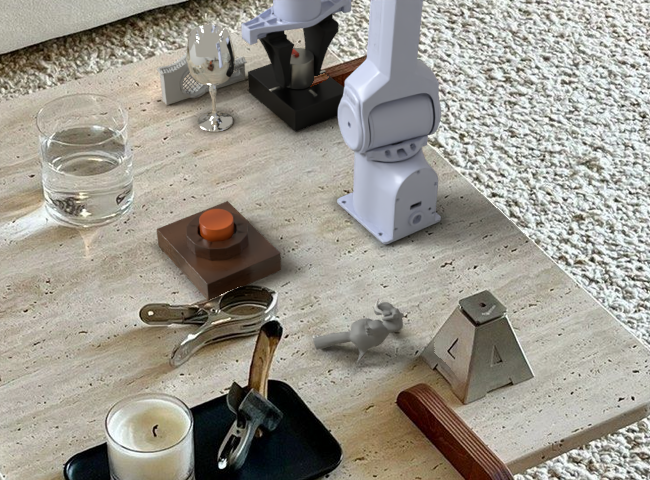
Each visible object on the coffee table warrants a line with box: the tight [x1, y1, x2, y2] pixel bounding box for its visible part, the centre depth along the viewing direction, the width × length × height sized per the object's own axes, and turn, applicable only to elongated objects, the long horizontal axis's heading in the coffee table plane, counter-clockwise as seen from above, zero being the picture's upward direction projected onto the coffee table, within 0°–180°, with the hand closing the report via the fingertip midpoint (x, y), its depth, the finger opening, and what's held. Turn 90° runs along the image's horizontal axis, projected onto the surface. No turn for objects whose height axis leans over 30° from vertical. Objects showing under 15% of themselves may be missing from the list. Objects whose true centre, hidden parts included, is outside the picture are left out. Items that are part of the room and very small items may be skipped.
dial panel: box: [247, 63, 345, 133], centre depth 149 cm, size 11×8×3 cm
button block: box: [156, 200, 282, 301], centre depth 127 cm, size 11×9×4 cm
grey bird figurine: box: [312, 298, 405, 366], centre depth 116 cm, size 10×6×9 cm
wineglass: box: [186, 24, 236, 133], centre depth 143 cm, size 6×6×12 cm
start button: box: [199, 209, 234, 242], centre depth 126 cm, size 4×4×2 cm
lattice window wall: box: [156, 51, 248, 106], centre depth 150 cm, size 12×2×6 cm, turn 122°
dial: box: [288, 47, 314, 89], centre depth 147 cm, size 4×4×4 cm
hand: (298, 77), depth 148 cm, fingers closed on dial, 4 cm apart
